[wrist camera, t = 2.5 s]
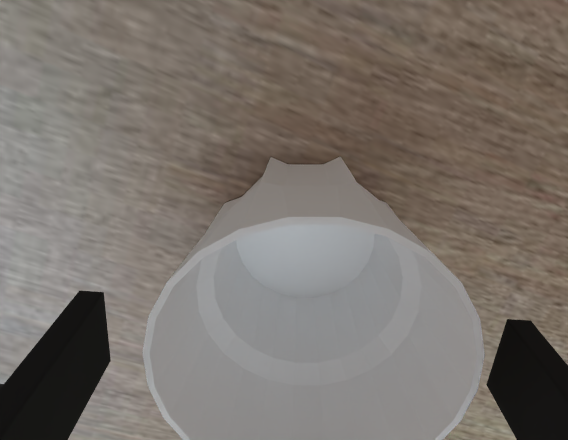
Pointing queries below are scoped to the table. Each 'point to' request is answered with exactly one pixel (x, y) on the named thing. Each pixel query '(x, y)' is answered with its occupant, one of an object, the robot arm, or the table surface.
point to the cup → (312, 321)
